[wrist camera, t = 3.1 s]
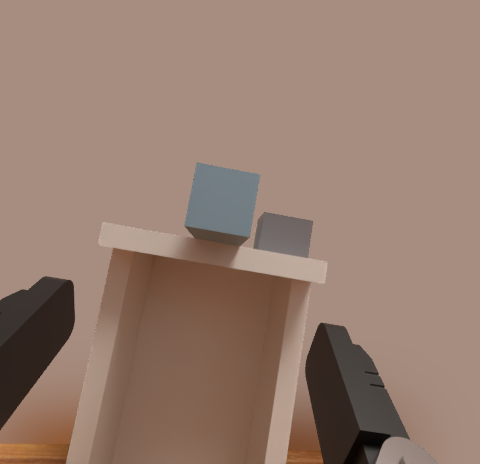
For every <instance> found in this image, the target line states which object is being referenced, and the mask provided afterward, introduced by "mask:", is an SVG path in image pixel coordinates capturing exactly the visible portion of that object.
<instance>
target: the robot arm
mask: <svg viewBox="0 0 480 464" xmlns="http://www.w3.org/2000/svg"><path fill="white" fill-rule="evenodd" d="M74 322H75V310H74V285H73V282H72V281H71V280H65V279H59V278H53V277H47V276H46V277H43V278H42V279H40V280H39V281H38V282H37V283H36V284H34V285H33V286H32V287H31V288H30V289H29V290H20V291H18V292H16V293H14V294H11V295H9V296H7V297H5V298H3V299H2V300H0V430H1V428H2V427H3V426H4V424H5V423H6V422H7V420H8V419H9V418H10V416H11V415H12V414H13V412H14V411H15V410H16V408H17V406H19V404H20V403H21V401H22V400H23V399H24V398H25V396H26V395H27V394H28V392H29V391H30V389H31V388H32V387H33V386H34V384H35V383H36V382H37V380H38V378H40V376H41V375H42V374H43V372H44V371H45V370H46V368H47V366H49V364H50V363H51V362H52V360H53V359H54V357H55V356H56V355H57V353H58V352H59V351H60V349H61V348H62V347H63V345H64V344H65V343H66V341H67V340H68V339H69V337H70V335H71V333H72V330H73V327H74ZM305 372H306V380H307V385H308V390H309V395H310V400H311V404H312V409H313V414H314V419H315V424H316V429H317V433H318V438H319V443H320V448H321V453H322V458H323V462H324V464H438V462H437V461H436V460H435V459H434V458H433V457H432V456H431V454H429V453H428V452H427V451H426V450H425V449H424V448H422V447H421V446H420V445H418V444H416V443H415V442H413V441H411V440H410V438H409V436H408V434H407V432H406V430H405V428H404V426H403V424H402V421H401V420H400V417H399V415H398V413H397V411H396V409H395V407H394V405H393V403H392V400H391V398H390V396H389V394H388V392H387V390H386V389H384V384H383V382H382V379H381V378H380V376H378V374H379V373H378V371H377V369H376V367H375V365H374V363H373V361H372V359H371V358H370V356H369V355H368V354H367V353H366V352H365V351H364V350H363V349H362V348H361V346H360V345H355V344H352V341H351V339H350V336H349V334H348V332H347V330H346V328H345V327H344V326H339V325H332V324H326V323H320V324H319V326H318V328H317V331H316V333H315V336H314V339H313V342H312V345H311V348H310V351H309V353H308V356H307V360H306V367H305Z"/></svg>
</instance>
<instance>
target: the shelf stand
mask: <svg viewBox="0 0 480 464" xmlns="http://www.w3.org/2000/svg"><path fill="white" fill-rule="evenodd" d="M98 245H101V246H106V247H112V248H113V252H112V256H111V261H110V265H109V270H108V274H107V279H106V284H105V289H104V293H103V298H102V302H101V306H100V311H99V315H98V320H97V324H96V329H95V334H94V339H93V343H92V347H91V352H90V356H89V361H88V365H87V370H86V374H85V379H84V383H83V388H82V392H81V397H80V402H79V406H78V410H77V415H76V420H75V424H74V429H73V433H72V438H71V442H70V447H69V451H68V456H67V460H66V464H286V458H287V451H288V444H289V437H290V430H291V423H292V416H293V409H294V401H295V394H296V387H297V380H298V373H299V365H300V359H301V352H302V345H303V338H304V331H305V323H306V317H307V309H308V302H309V295H310V288H311V282H315V283H321V284H325V279H326V271H327V265H328V262H326V261H321V260H315V259H309V258H304V257H298V256H292V255H287V254H281V253H275V252H270V251H264V250H258V249H253V248H247V247H241V246H236V245H230V244H224V243H219V242H213V241H207V240H201V239H196V238H190V237H184V236H179V235H173V234H167V233H161V232H156V231H150V230H145V229H139V228H133V227H128V226H122V225H116V224H110V223H104V222H103V224H102V229H101V233H100V237H99V242H98Z"/></svg>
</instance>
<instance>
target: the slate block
mask: <svg viewBox="0 0 480 464" xmlns="http://www.w3.org/2000/svg"><path fill="white" fill-rule="evenodd" d="M259 178H260V175H259V174H254V173H249V172H244V171H238V170H233V169H227V168H222V167H217V166H212V165H207V164H201V163H197V164H196V169H195V174H194V179H193V185H192V190H191V195H190V200H189V205H188V210H187V216H186V221H185V227H186V228H187V229H188V231H189V232H190V233H191V234H192V235H193V237H194V238H196V239H201V240H207V241H213V242H219V243H224V244H230V245H236V246H241V245H242V244H243V243H244V242H245V241H246V240H247V239H248V238H249V237H250V232H251V225H252V219H253V213H254V208H255V201H256V196H257V190H258V184H259Z"/></svg>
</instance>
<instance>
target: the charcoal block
mask: <svg viewBox="0 0 480 464" xmlns="http://www.w3.org/2000/svg"><path fill="white" fill-rule="evenodd" d="M312 225H313V221H310V220H305V219H299V218H294V217H288V216H283V215H277V214H271V213H266V212H264V213H263V214H262V215H261V217H260V218H259V219H258V223H257V228H256V234H255V240H254V246H253V249H258V250H264V251H270V252H275V253H281V254H287V255H292V256H298V257H304V258H308V253H309V246H310V239H311V232H312Z"/></svg>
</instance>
